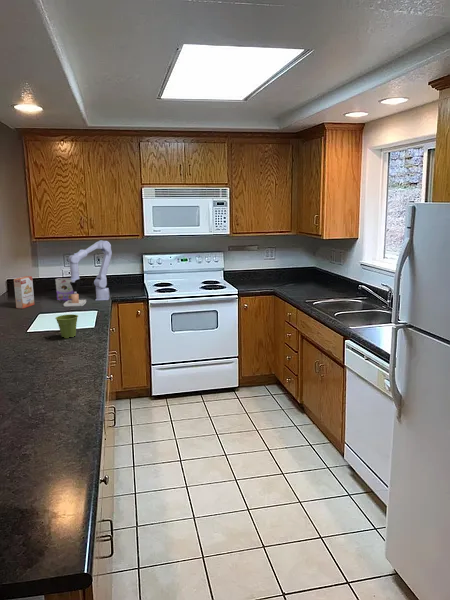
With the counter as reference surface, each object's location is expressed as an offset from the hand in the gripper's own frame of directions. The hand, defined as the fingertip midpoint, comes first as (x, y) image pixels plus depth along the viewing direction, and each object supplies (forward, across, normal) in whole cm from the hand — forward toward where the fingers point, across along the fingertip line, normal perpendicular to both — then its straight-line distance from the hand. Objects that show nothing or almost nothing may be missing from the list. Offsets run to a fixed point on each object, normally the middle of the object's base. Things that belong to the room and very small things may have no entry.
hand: (76, 290), depth 354 cm
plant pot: (+9, +93, +14) cm, 94 cm away
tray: (+9, +4, -1) cm, 10 cm away
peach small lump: (+9, +4, 0) cm, 10 cm away
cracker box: (+9, +6, -35) cm, 36 cm away
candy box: (+10, -14, -10) cm, 20 cm away
